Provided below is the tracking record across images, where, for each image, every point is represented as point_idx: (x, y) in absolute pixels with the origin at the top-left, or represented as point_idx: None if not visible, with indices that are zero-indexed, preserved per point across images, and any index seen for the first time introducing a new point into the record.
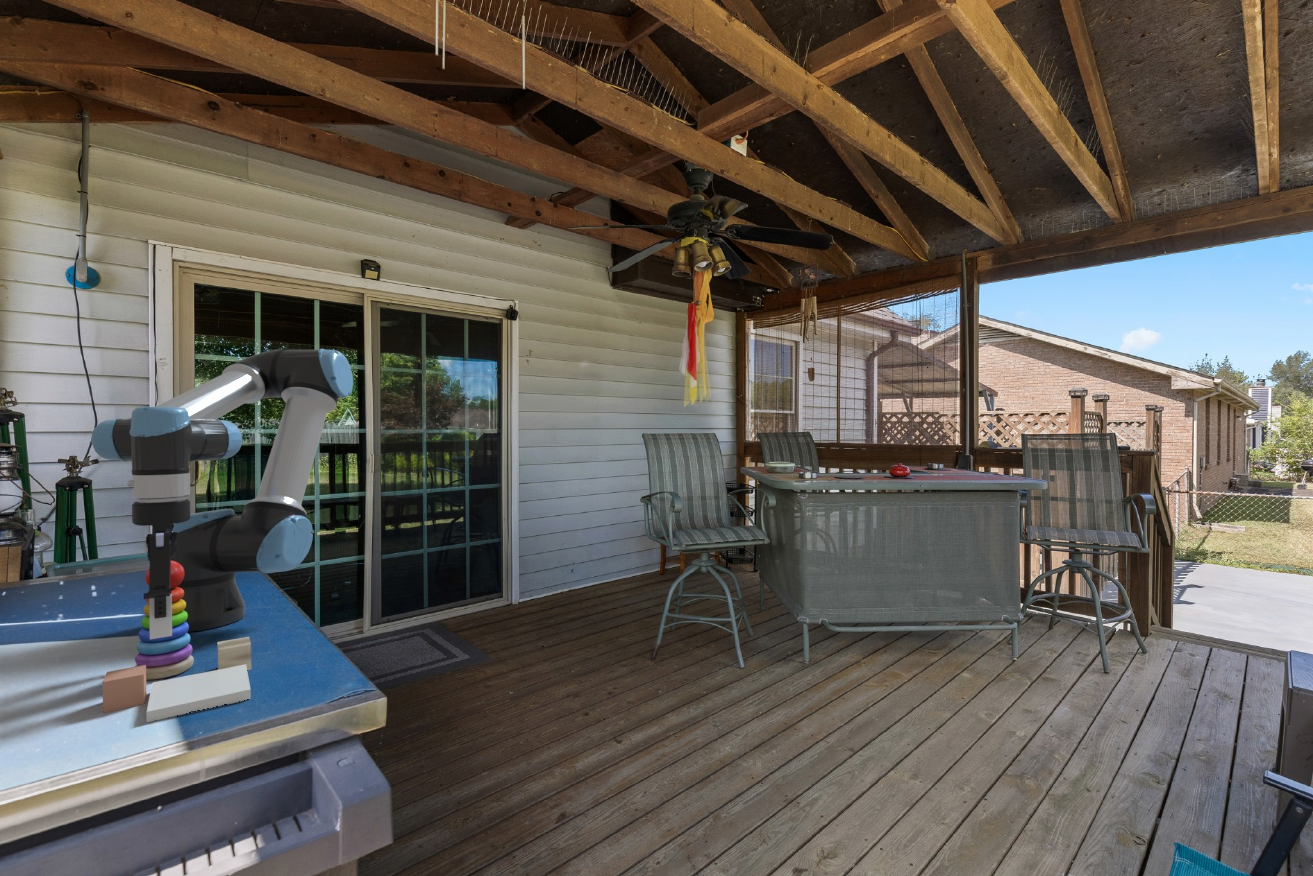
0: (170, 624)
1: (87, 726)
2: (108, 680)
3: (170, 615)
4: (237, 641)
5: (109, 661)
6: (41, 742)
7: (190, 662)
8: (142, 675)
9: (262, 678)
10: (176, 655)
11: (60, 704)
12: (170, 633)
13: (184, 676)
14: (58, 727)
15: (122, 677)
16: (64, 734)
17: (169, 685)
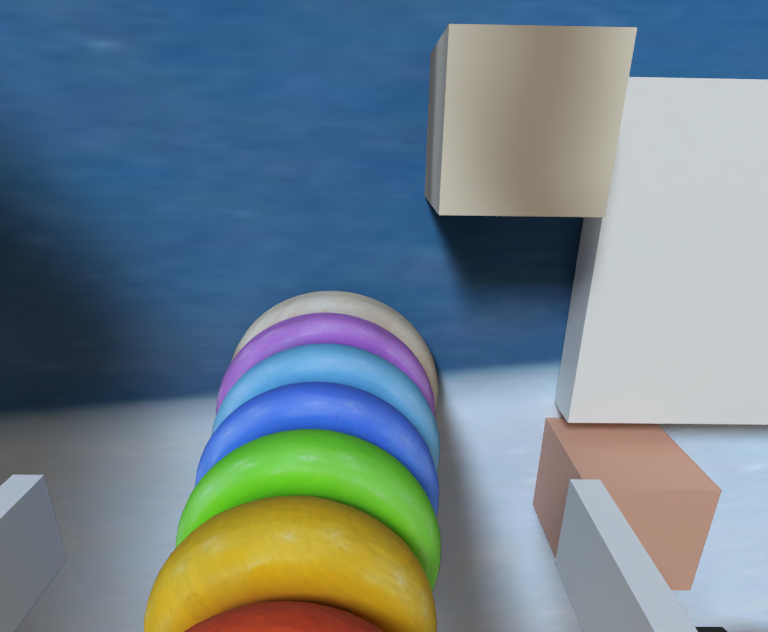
0: (633, 542)
1: (716, 526)
2: (686, 577)
3: (678, 604)
4: (513, 105)
5: (86, 530)
6: (738, 593)
7: (379, 306)
8: (715, 490)
9: (740, 14)
10: (424, 378)
11: (464, 592)
12: (605, 496)
13: (586, 328)
14: None
15: (693, 545)
16: (728, 561)
17: (654, 373)
